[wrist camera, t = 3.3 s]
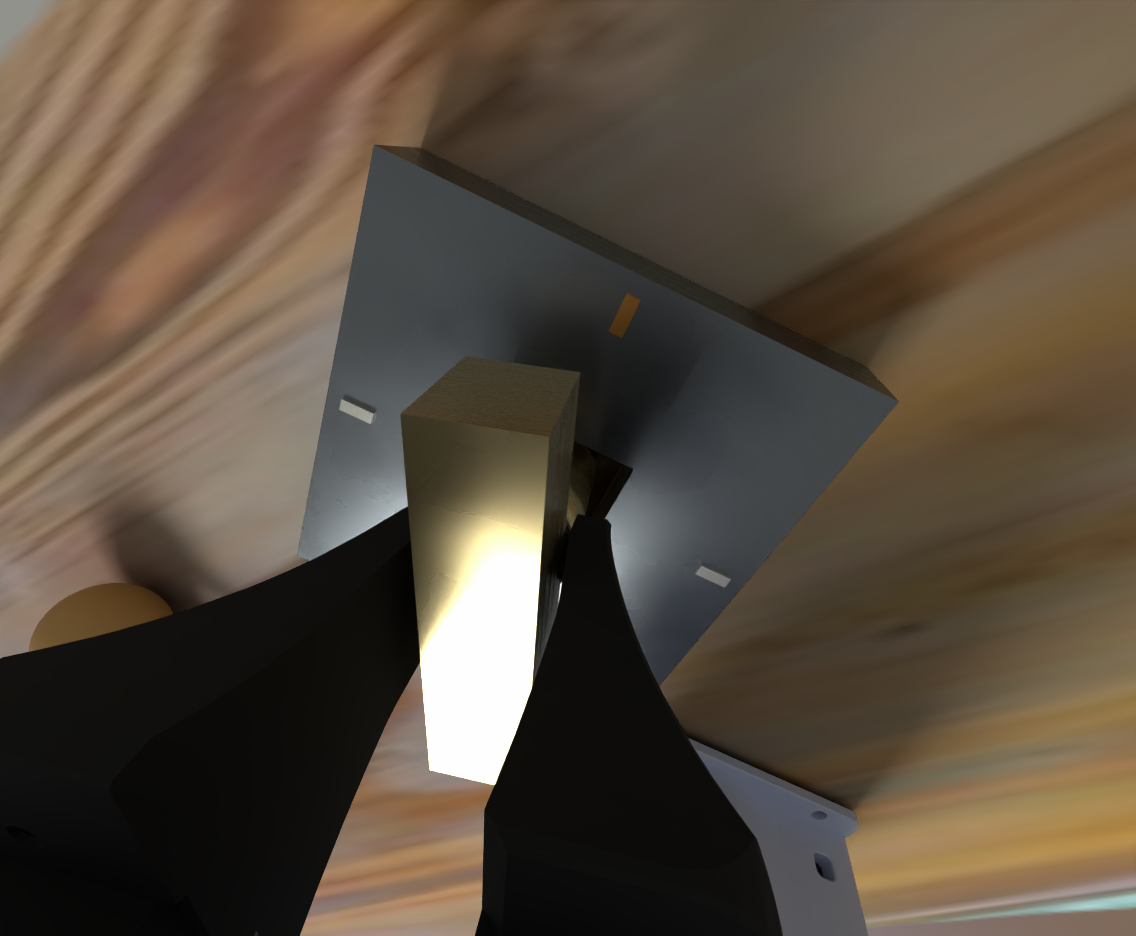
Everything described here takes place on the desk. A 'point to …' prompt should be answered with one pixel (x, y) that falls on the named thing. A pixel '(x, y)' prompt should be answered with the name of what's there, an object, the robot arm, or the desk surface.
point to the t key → (489, 545)
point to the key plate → (585, 387)
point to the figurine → (97, 613)
